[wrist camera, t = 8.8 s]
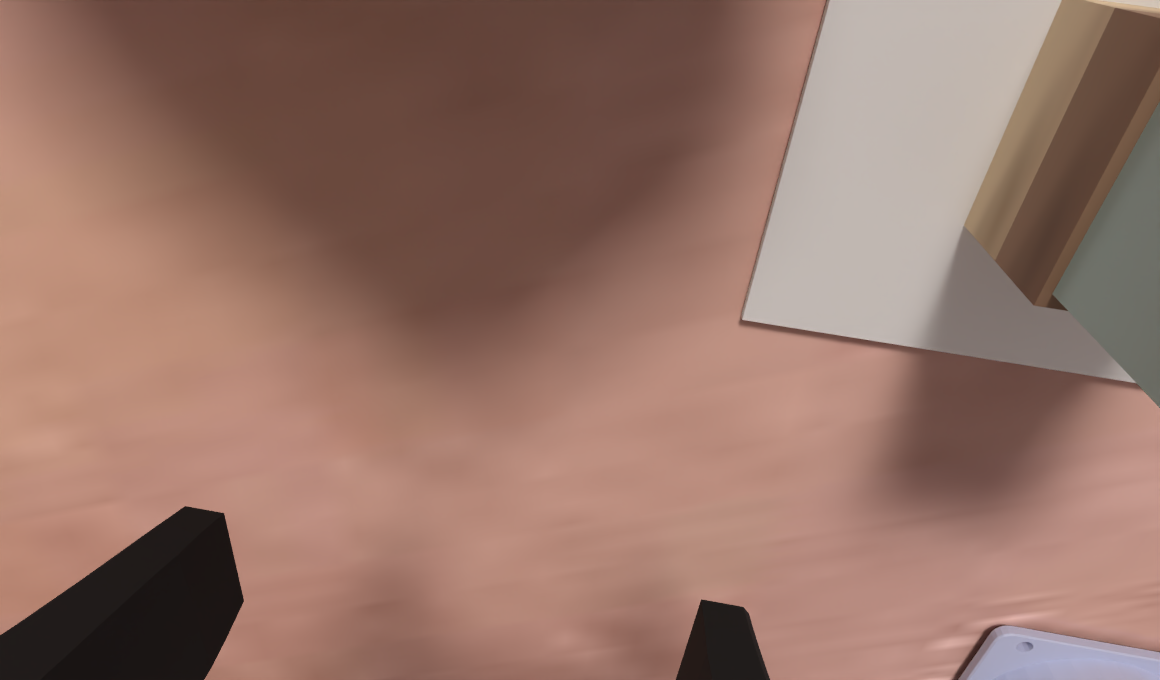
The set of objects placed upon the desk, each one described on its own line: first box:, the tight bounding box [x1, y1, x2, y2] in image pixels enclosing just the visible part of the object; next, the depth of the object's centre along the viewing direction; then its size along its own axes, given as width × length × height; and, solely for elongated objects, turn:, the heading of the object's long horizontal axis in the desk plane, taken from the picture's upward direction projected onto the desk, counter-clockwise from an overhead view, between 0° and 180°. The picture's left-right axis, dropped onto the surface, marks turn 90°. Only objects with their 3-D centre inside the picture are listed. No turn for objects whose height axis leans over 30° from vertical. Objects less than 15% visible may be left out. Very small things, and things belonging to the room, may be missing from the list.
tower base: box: [964, 0, 1160, 261], centre depth 14 cm, size 5×5×2 cm
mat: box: [741, 0, 1160, 383], centre depth 15 cm, size 14×12×1 cm
